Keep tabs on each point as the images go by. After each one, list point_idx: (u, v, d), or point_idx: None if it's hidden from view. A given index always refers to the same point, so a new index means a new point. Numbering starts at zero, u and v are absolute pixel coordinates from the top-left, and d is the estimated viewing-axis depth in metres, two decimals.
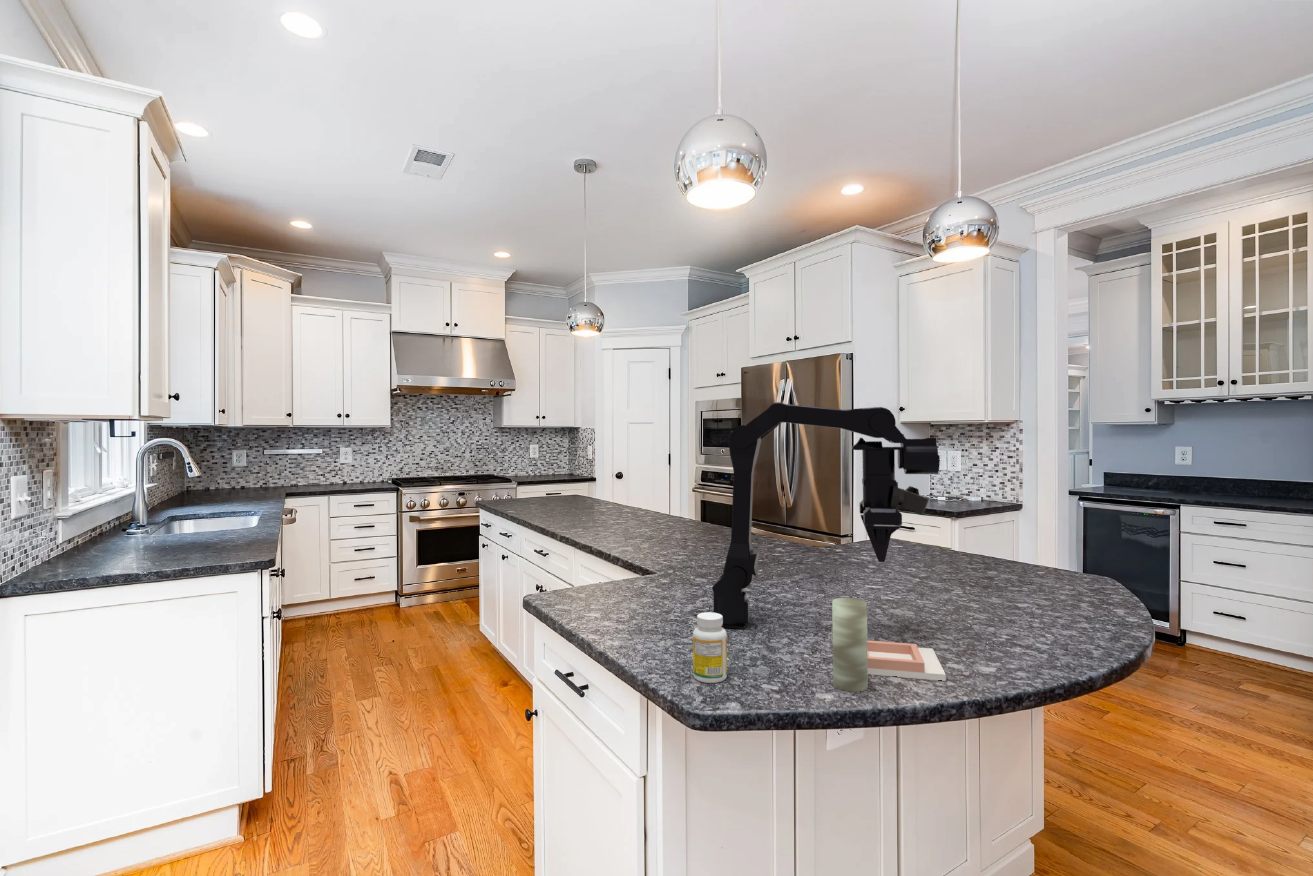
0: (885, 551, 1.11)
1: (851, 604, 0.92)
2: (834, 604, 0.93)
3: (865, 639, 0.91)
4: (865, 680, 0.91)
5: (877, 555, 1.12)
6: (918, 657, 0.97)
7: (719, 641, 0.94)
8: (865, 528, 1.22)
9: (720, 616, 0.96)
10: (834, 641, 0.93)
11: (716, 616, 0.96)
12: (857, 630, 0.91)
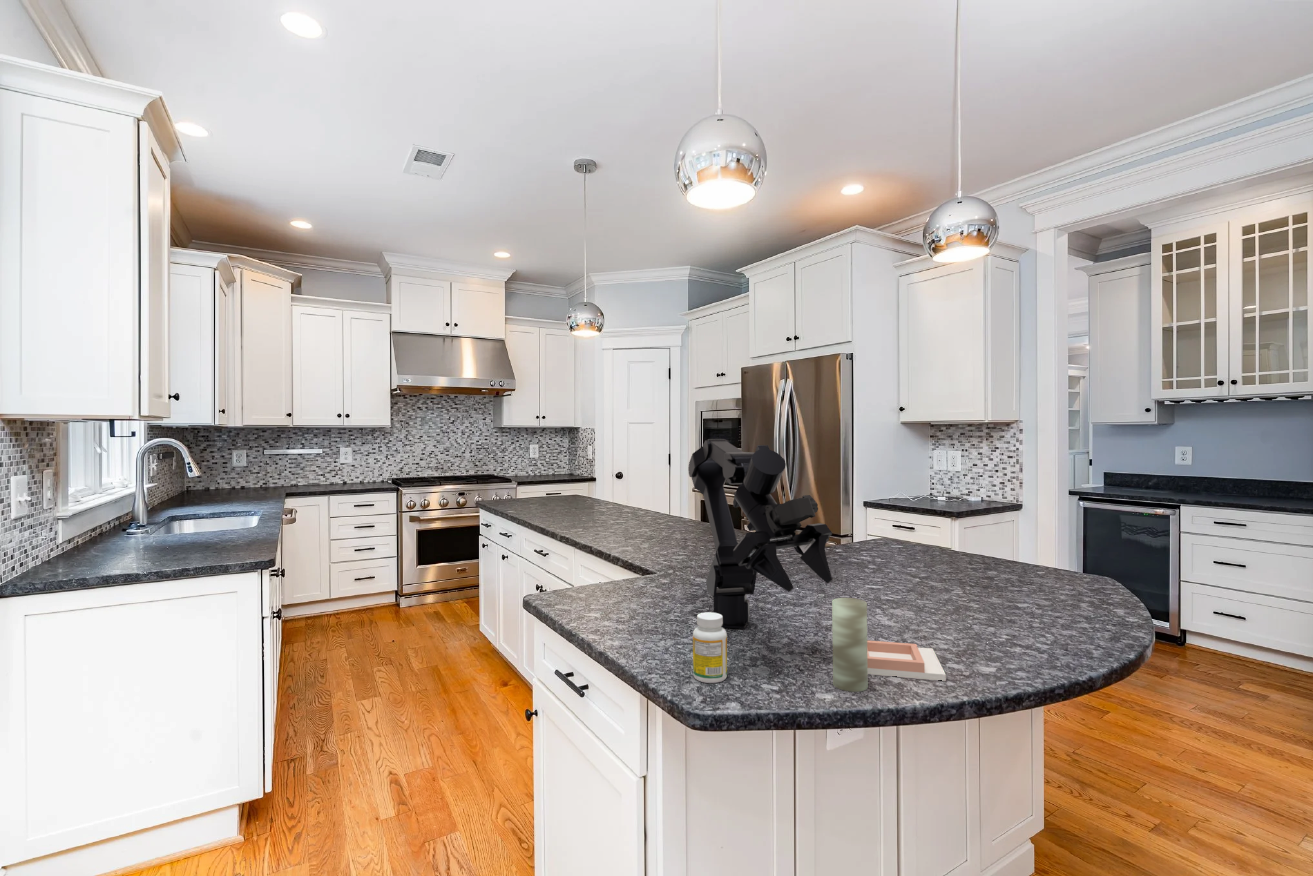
0: (783, 577, 0.97)
1: (851, 604, 0.92)
2: (834, 604, 0.93)
3: (865, 639, 0.91)
4: (865, 680, 0.91)
5: (782, 586, 0.98)
6: (918, 657, 0.97)
7: (718, 641, 0.94)
8: None
9: (720, 616, 0.96)
10: (833, 641, 0.93)
11: (716, 616, 0.96)
12: (857, 630, 0.91)
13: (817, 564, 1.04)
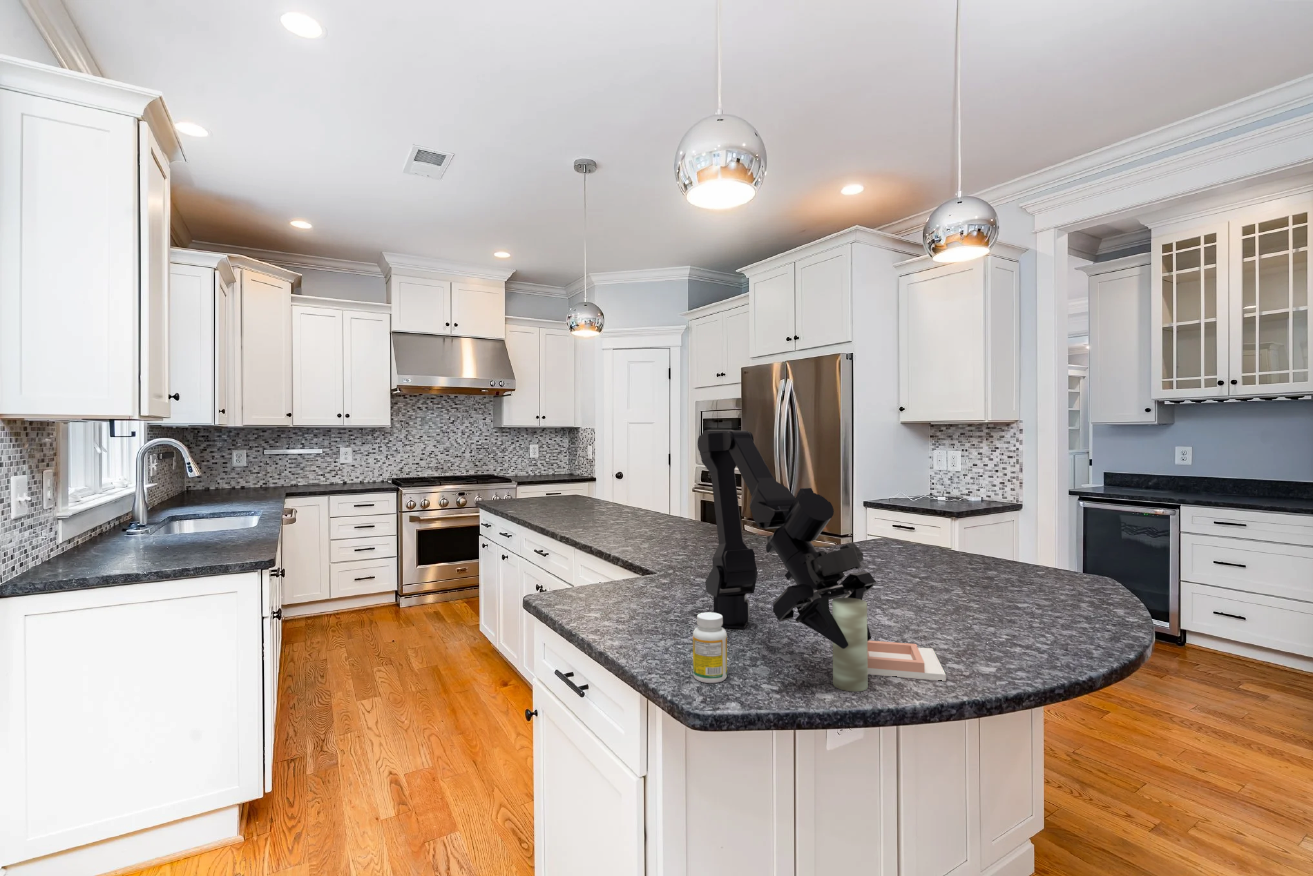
0: (838, 633, 0.91)
1: (851, 604, 0.92)
2: (834, 604, 0.93)
3: (865, 639, 0.91)
4: (865, 680, 0.91)
5: (836, 643, 0.91)
6: (918, 657, 0.97)
7: (718, 641, 0.94)
8: None
9: (720, 616, 0.96)
10: None
11: (716, 616, 0.96)
12: (857, 629, 0.91)
13: None
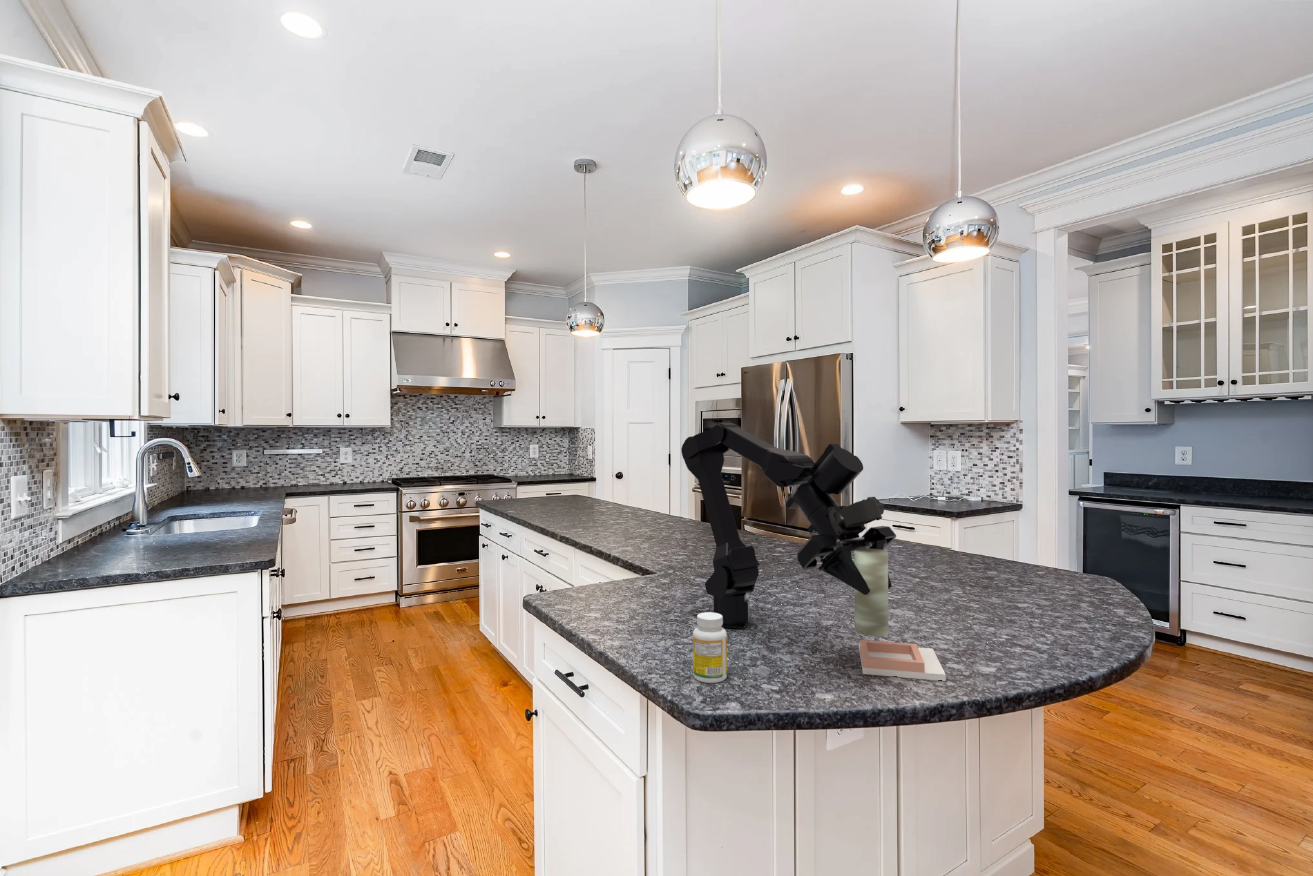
0: (860, 580, 0.95)
1: (872, 552, 0.96)
2: (856, 553, 0.97)
3: (886, 586, 0.95)
4: (886, 625, 0.95)
5: (858, 589, 0.95)
6: (918, 657, 0.97)
7: (719, 641, 0.94)
8: None
9: (720, 616, 0.96)
10: None
11: (716, 616, 0.96)
12: (878, 577, 0.95)
13: None
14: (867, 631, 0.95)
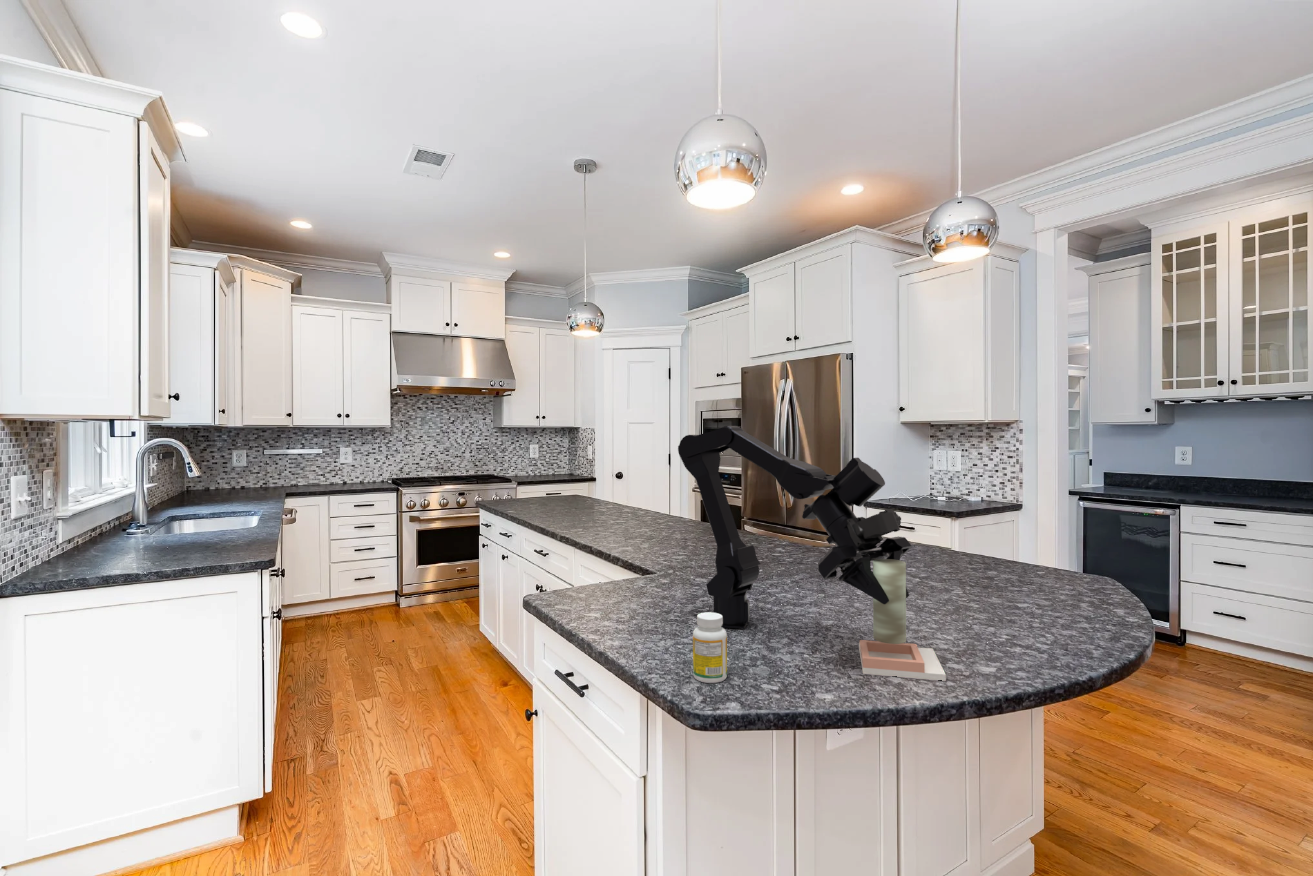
0: (879, 590, 0.98)
1: (891, 563, 0.99)
2: (875, 563, 1.00)
3: (904, 595, 0.99)
4: (904, 633, 0.99)
5: (877, 599, 0.99)
6: (918, 657, 0.97)
7: (718, 641, 0.94)
8: None
9: (720, 616, 0.96)
10: None
11: (716, 616, 0.96)
12: (897, 586, 0.98)
13: None
14: (886, 639, 0.98)
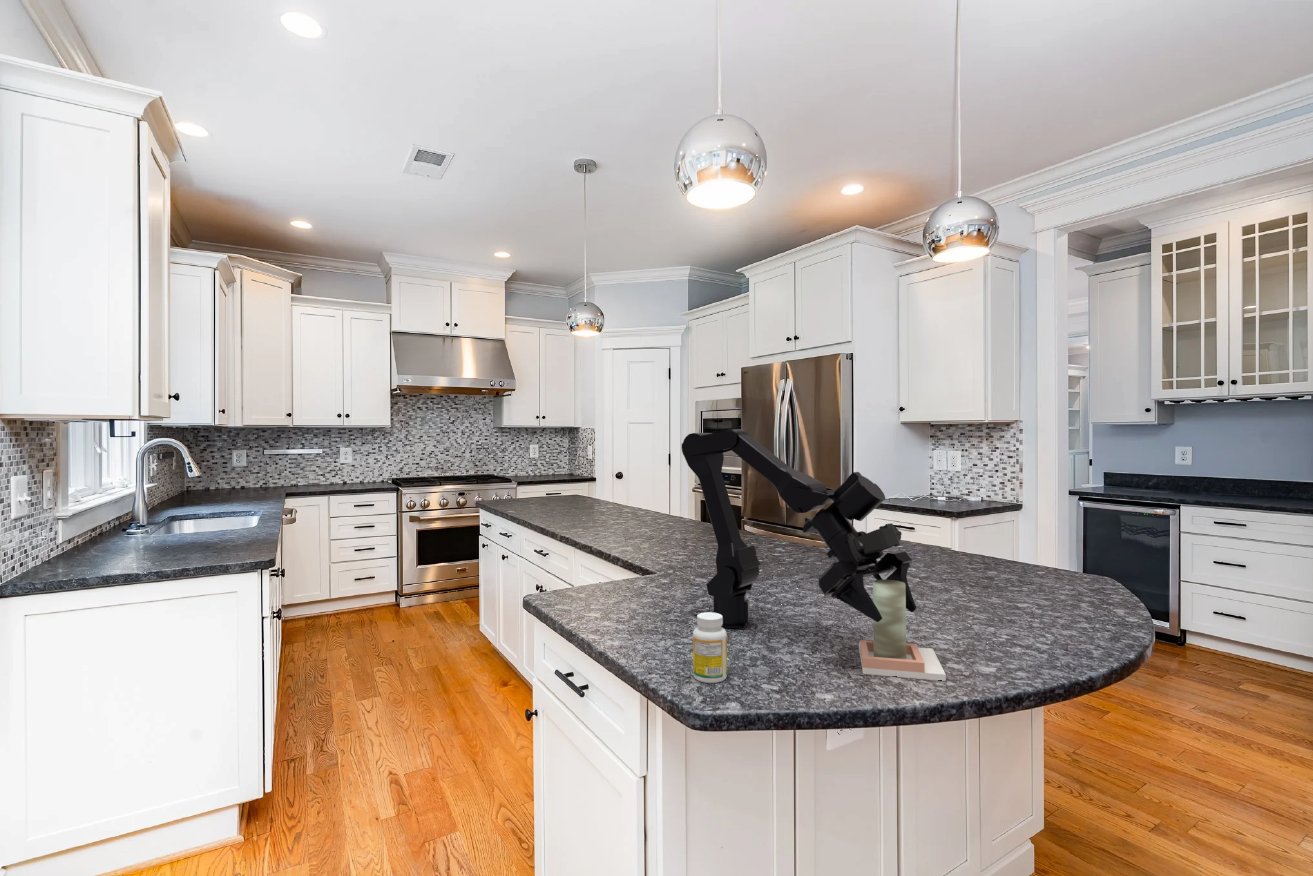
0: (872, 608, 0.97)
1: (891, 585, 0.99)
2: (875, 585, 1.00)
3: (904, 617, 0.99)
4: (904, 655, 0.99)
5: (870, 616, 0.98)
6: (918, 657, 0.97)
7: (718, 641, 0.94)
8: None
9: (720, 616, 0.96)
10: None
11: (716, 616, 0.96)
12: (897, 608, 0.98)
13: None
14: None
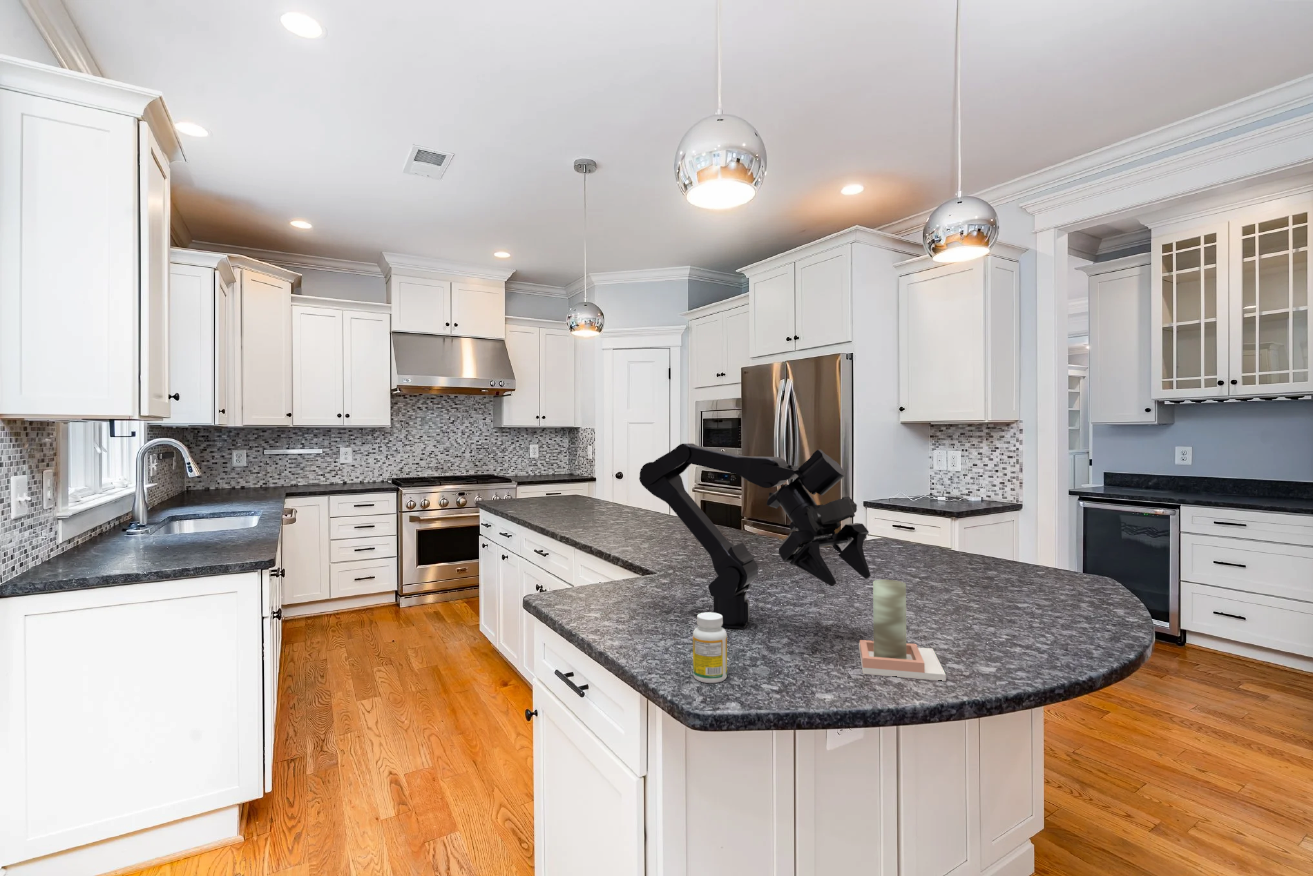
0: (827, 573, 1.04)
1: (891, 585, 0.99)
2: (875, 585, 1.00)
3: (904, 617, 0.99)
4: (904, 655, 0.99)
5: (825, 581, 1.05)
6: (918, 657, 0.97)
7: (718, 641, 0.94)
8: None
9: (720, 616, 0.96)
10: (875, 619, 1.00)
11: (716, 616, 0.96)
12: (897, 608, 0.98)
13: (856, 561, 1.12)
14: None
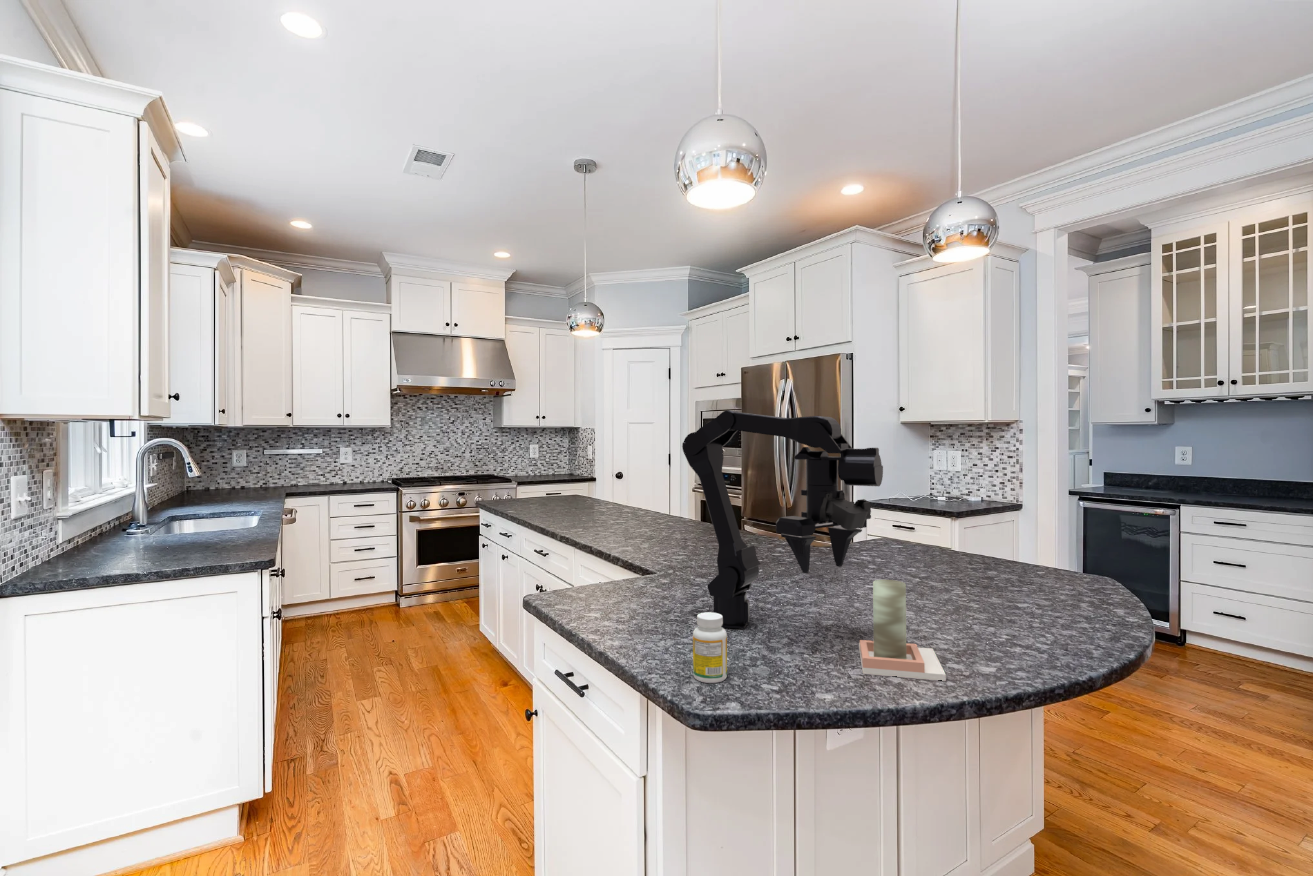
0: (805, 562, 1.10)
1: (891, 585, 0.99)
2: (875, 585, 1.00)
3: (904, 617, 0.99)
4: (904, 655, 0.99)
5: (800, 565, 1.11)
6: (918, 657, 0.97)
7: (719, 641, 0.94)
8: None
9: (720, 616, 0.96)
10: (874, 619, 1.00)
11: (716, 616, 0.96)
12: (897, 608, 0.98)
13: (838, 547, 1.16)
14: None
